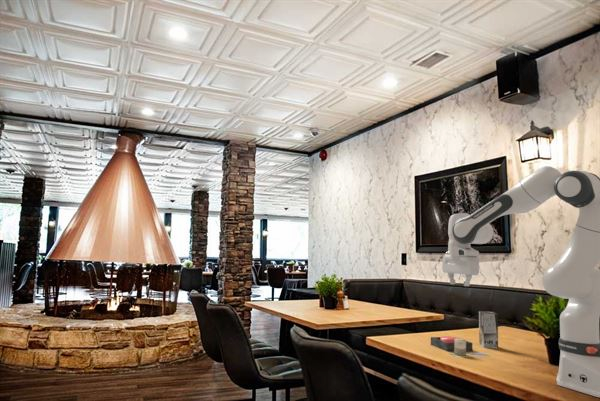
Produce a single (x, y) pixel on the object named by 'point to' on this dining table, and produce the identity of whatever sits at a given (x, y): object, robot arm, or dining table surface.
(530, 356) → the dining table surface
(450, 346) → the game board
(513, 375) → the dining table surface
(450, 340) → the dome
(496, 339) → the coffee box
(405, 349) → the dining table surface
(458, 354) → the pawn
